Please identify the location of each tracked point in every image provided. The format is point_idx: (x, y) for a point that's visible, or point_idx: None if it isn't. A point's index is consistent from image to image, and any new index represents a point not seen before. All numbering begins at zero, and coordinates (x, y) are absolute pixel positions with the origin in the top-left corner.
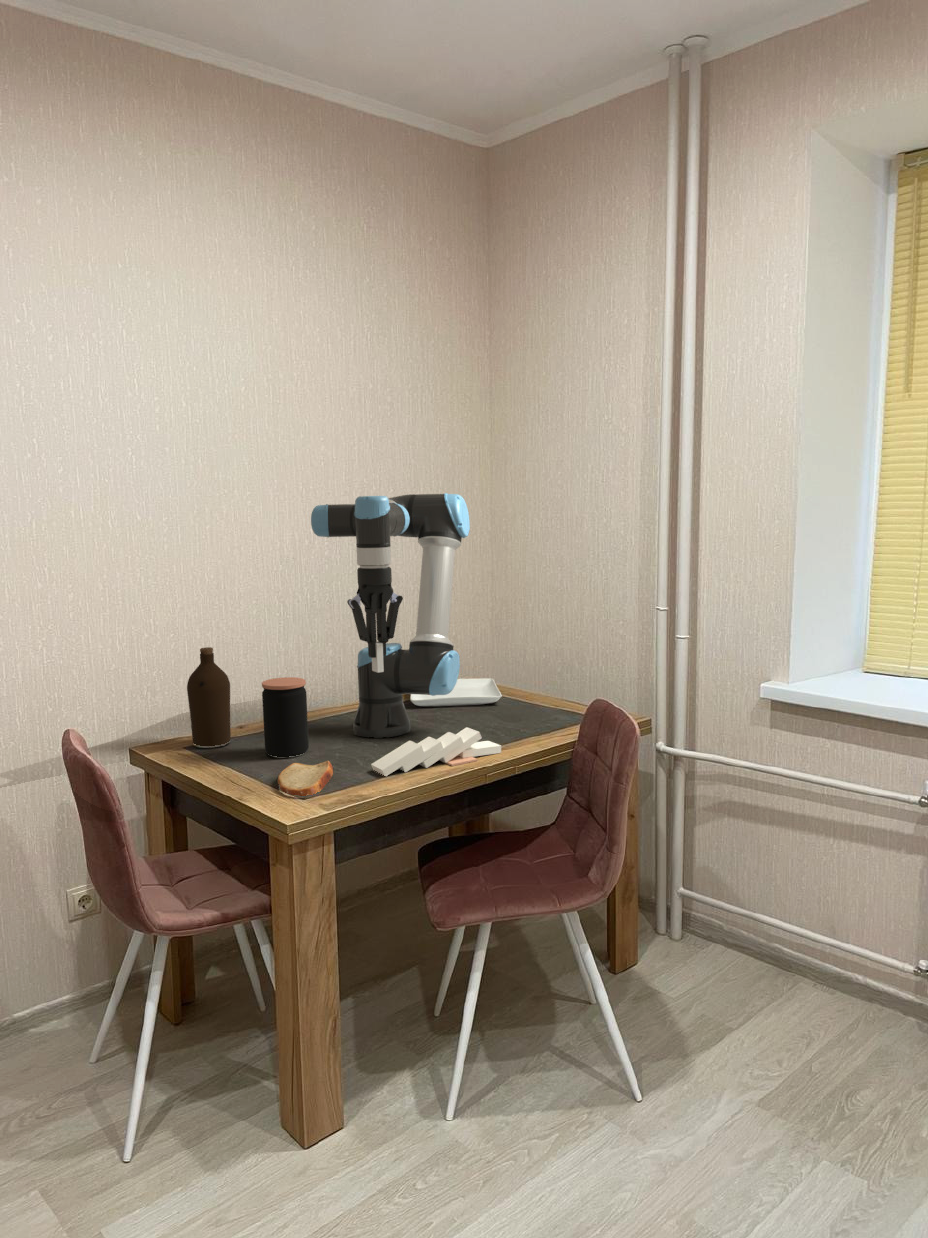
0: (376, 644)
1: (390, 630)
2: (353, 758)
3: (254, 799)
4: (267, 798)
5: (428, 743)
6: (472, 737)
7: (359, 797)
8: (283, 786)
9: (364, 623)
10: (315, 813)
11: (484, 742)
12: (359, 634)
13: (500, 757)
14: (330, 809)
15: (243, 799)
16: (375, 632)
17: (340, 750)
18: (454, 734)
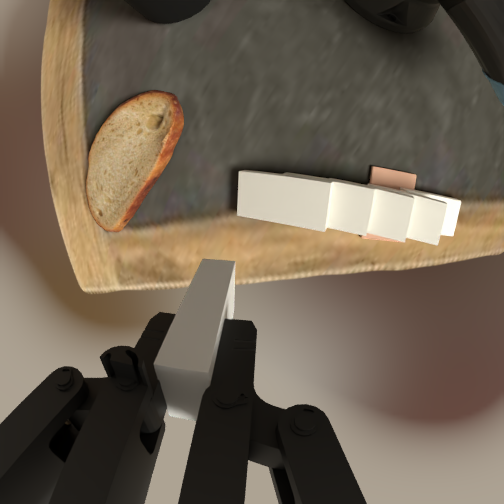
0: (170, 409)
1: (280, 497)
2: (256, 78)
3: (62, 192)
4: (73, 198)
5: (353, 211)
6: (422, 241)
7: (167, 269)
8: (86, 192)
9: (48, 500)
10: (107, 282)
11: (451, 206)
12: (39, 404)
13: (432, 248)
14: (123, 282)
15: (54, 184)
16: (144, 477)
17: (263, 24)
18: (408, 221)
